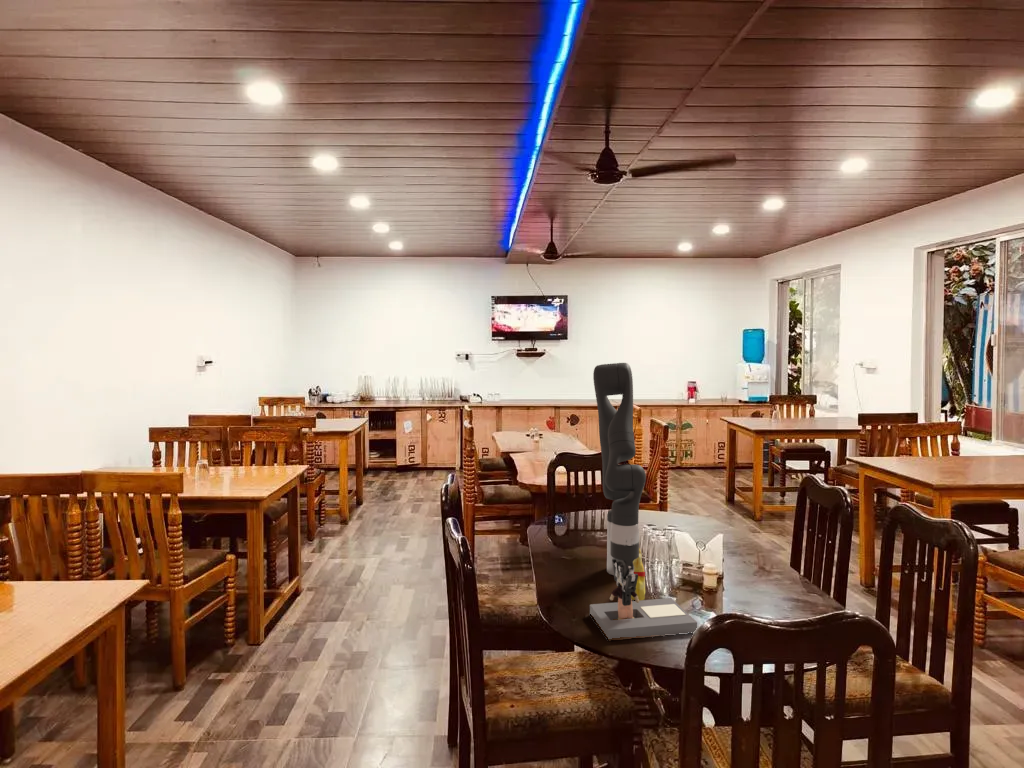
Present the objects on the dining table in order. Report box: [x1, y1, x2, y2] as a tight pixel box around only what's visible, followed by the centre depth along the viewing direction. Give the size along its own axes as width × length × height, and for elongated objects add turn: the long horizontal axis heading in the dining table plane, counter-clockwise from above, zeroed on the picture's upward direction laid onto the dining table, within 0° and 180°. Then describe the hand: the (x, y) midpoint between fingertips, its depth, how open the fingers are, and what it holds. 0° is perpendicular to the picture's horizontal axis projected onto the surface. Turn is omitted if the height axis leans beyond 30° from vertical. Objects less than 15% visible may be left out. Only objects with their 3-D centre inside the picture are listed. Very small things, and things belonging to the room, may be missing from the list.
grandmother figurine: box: [609, 576, 639, 620], centre depth 171 cm, size 8×4×13 cm, turn 92°
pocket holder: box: [589, 597, 698, 639], centre depth 172 cm, size 16×24×3 cm, turn 100°
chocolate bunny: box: [631, 547, 646, 601], centre depth 192 cm, size 7×11×15 cm, turn 175°
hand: (624, 602), depth 171 cm, fingers closed on grandmother figurine, 2 cm apart
